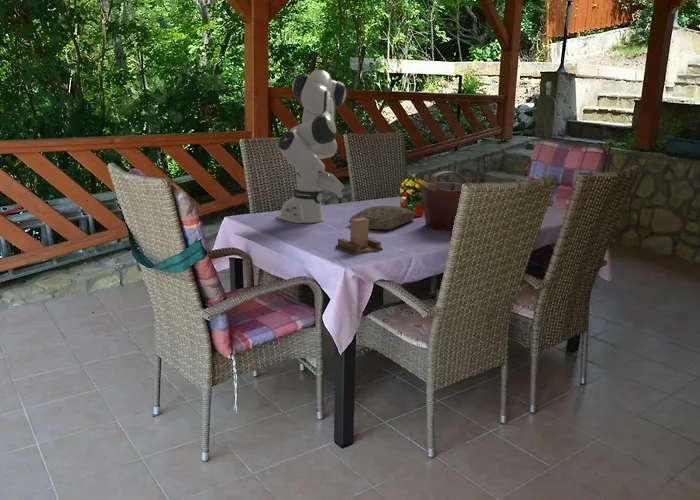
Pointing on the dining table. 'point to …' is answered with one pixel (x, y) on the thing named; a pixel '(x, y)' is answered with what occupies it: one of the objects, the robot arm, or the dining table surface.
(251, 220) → the dining table surface
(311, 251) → the dining table surface
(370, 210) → the stone tablet
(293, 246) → the dining table surface
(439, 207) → the bucket
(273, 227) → the dining table surface
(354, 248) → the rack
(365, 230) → the clay block
